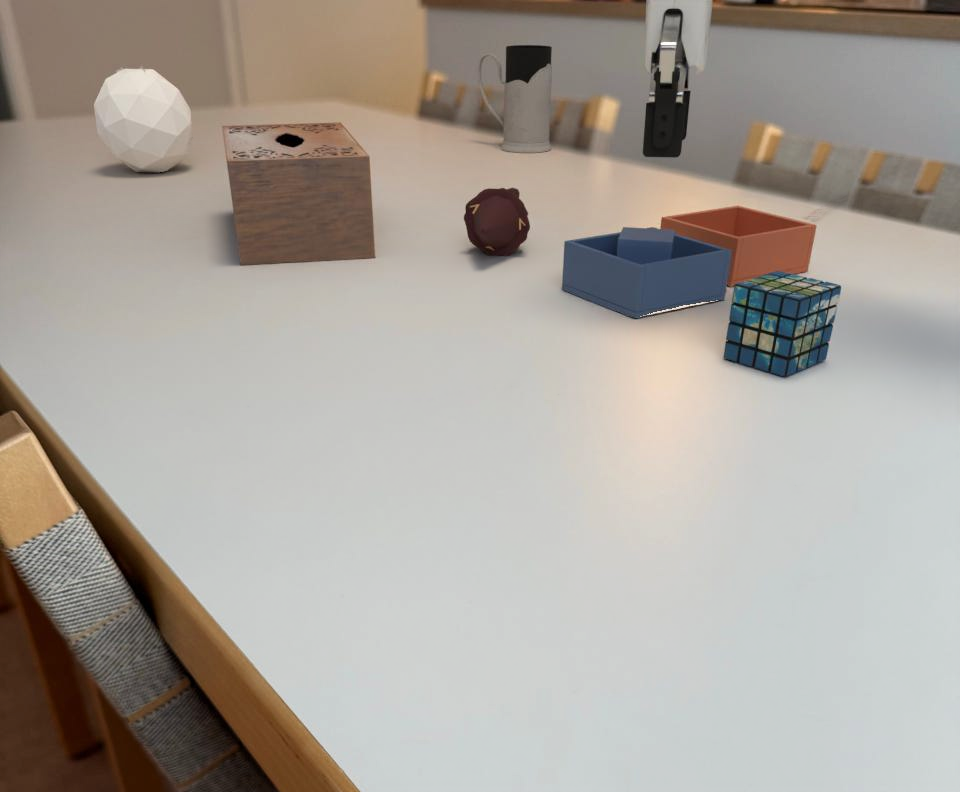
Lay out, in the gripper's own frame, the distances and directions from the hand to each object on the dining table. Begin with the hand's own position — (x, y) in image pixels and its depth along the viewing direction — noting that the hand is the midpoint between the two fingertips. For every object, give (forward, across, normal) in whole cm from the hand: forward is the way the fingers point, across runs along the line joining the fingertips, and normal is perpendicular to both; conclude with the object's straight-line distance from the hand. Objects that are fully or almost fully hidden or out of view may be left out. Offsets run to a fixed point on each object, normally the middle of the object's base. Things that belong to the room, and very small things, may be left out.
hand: (665, 147), depth 85 cm
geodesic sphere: (+11, +50, +80) cm, 95 cm away
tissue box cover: (+12, +17, +43) cm, 47 cm away
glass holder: (+12, +86, +30) cm, 92 cm away
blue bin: (+13, 0, +1) cm, 13 cm away
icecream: (+13, +13, +18) cm, 26 cm away
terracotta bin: (+13, +13, -7) cm, 20 cm away
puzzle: (+14, -16, -11) cm, 23 cm away
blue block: (+12, 0, +1) cm, 12 cm away
